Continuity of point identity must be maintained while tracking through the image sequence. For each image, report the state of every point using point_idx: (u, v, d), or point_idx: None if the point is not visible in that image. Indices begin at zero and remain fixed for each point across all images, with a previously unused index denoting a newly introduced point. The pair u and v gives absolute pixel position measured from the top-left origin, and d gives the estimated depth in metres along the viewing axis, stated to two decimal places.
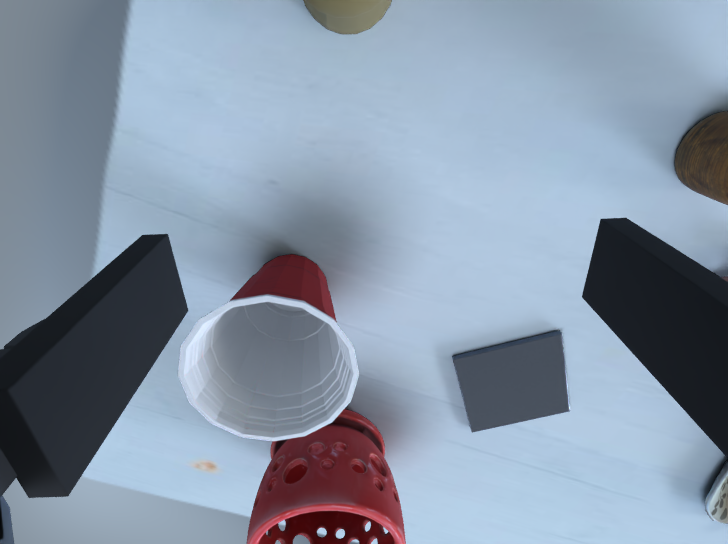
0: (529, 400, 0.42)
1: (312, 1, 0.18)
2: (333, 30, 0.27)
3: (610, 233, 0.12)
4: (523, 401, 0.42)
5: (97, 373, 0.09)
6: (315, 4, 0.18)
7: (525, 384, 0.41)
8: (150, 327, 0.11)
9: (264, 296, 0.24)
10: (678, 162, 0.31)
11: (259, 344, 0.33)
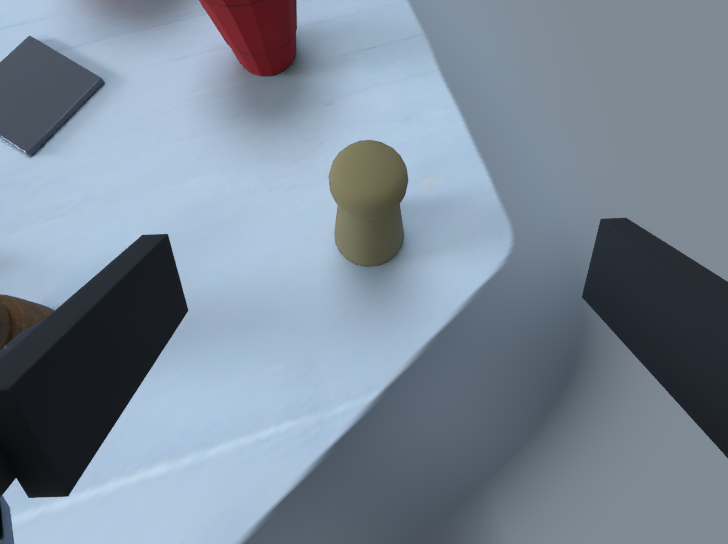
0: (2, 89, 0.41)
1: None
2: None
3: (610, 232, 0.12)
4: (7, 85, 0.41)
5: (97, 373, 0.09)
6: None
7: (19, 99, 0.41)
8: (150, 327, 0.11)
9: None
10: None
11: None
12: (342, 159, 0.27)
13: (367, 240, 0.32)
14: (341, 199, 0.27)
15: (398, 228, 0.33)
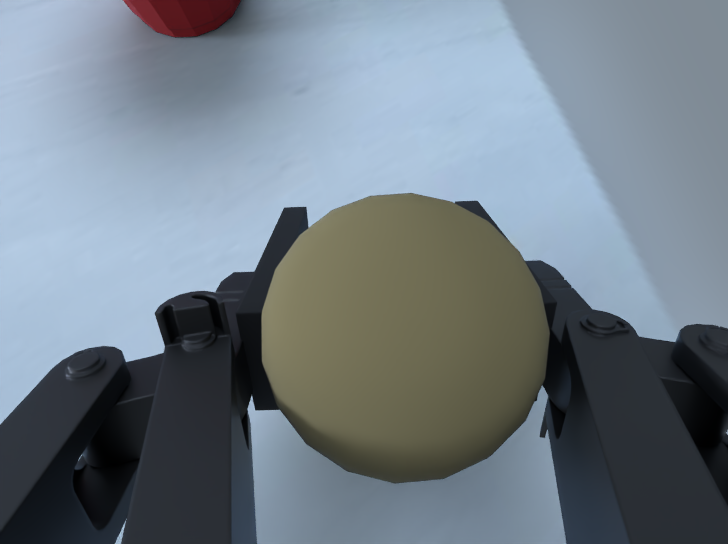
0: None
1: (385, 195, 0.08)
2: None
3: None
4: None
5: None
6: (376, 196, 0.08)
7: None
8: None
9: None
10: None
11: None
12: (306, 273, 0.07)
13: None
14: (302, 433, 0.07)
15: None
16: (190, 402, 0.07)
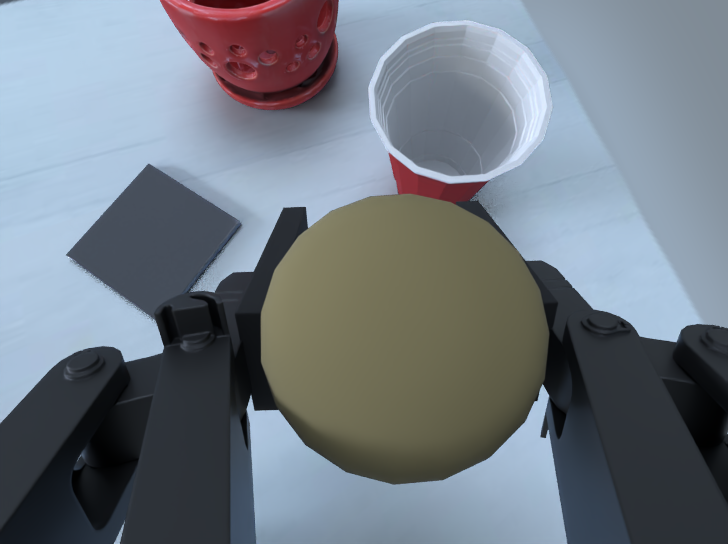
0: (122, 235, 0.35)
1: (384, 196, 0.08)
2: None
3: None
4: (127, 230, 0.35)
5: None
6: (376, 196, 0.08)
7: (144, 248, 0.34)
8: None
9: (521, 163, 0.24)
10: None
11: (438, 117, 0.33)
12: (306, 274, 0.07)
13: None
14: (301, 434, 0.07)
15: None
16: (189, 402, 0.07)
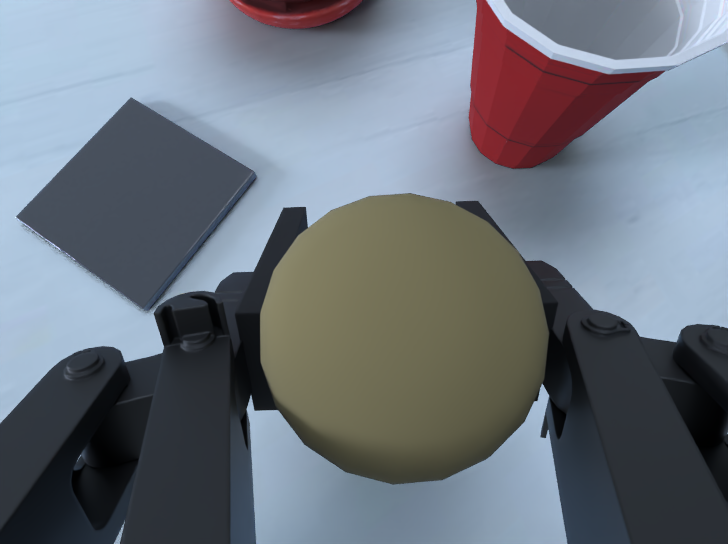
0: (93, 191, 0.25)
1: (384, 195, 0.08)
2: None
3: None
4: (101, 184, 0.25)
5: None
6: None
7: (123, 208, 0.25)
8: None
9: None
10: None
11: (535, 20, 0.23)
12: (305, 273, 0.07)
13: None
14: (300, 434, 0.07)
15: None
16: (189, 402, 0.07)
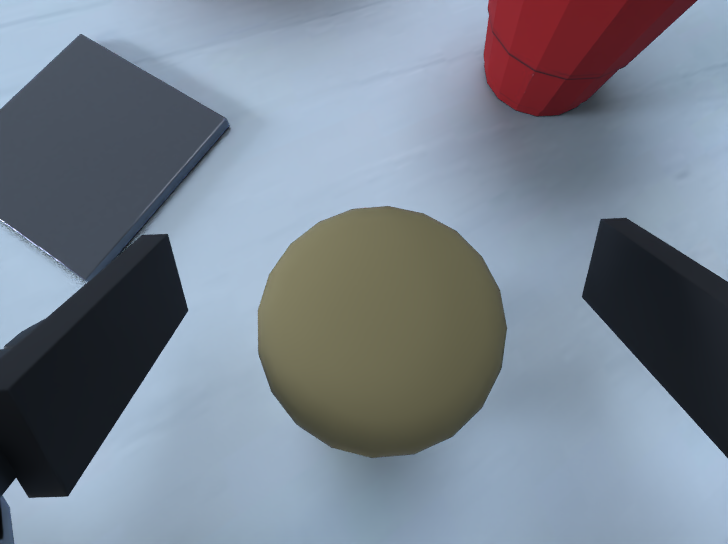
0: (30, 141, 0.21)
1: (365, 208, 0.09)
2: None
3: (610, 233, 0.12)
4: (40, 133, 0.21)
5: (97, 373, 0.09)
6: (358, 209, 0.09)
7: (66, 160, 0.20)
8: (150, 327, 0.11)
9: None
10: None
11: None
12: (294, 278, 0.08)
13: None
14: (291, 414, 0.08)
15: None
16: None
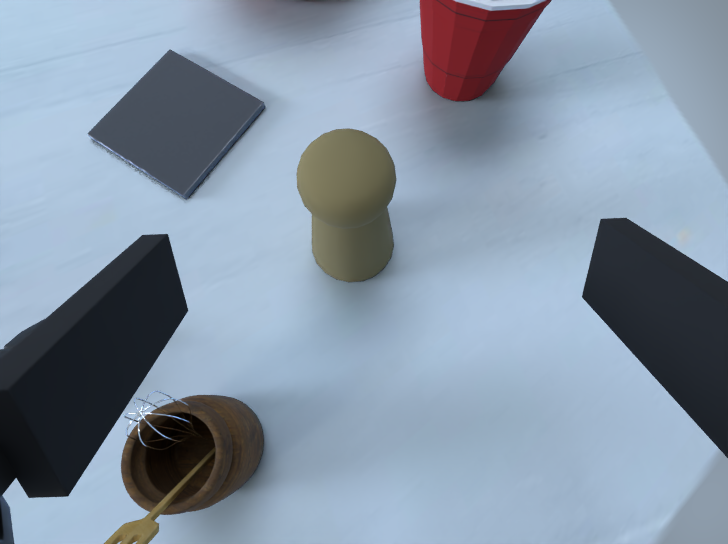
0: (144, 115, 0.34)
1: None
2: None
3: (610, 232, 0.12)
4: (149, 111, 0.34)
5: (97, 373, 0.09)
6: None
7: (167, 127, 0.34)
8: (150, 327, 0.11)
9: None
10: (246, 406, 0.27)
11: None
12: (312, 152, 0.21)
13: (347, 253, 0.26)
14: (311, 203, 0.21)
15: (386, 238, 0.27)
16: None
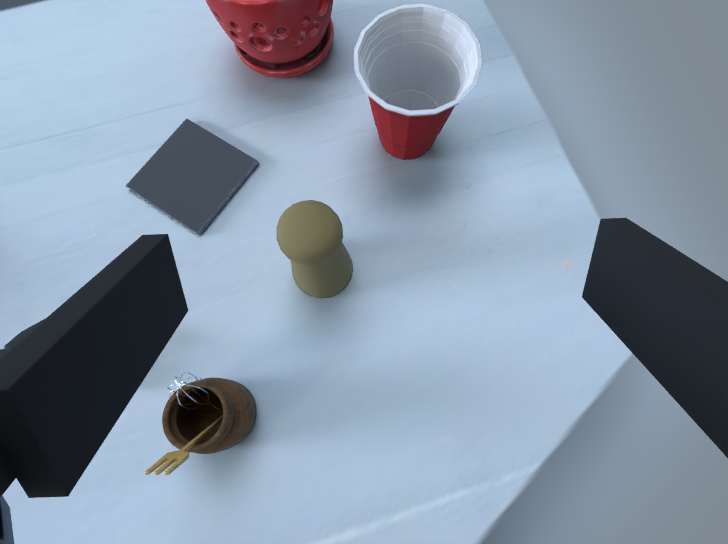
0: (168, 171, 0.45)
1: None
2: None
3: (610, 232, 0.12)
4: (172, 167, 0.45)
5: (97, 373, 0.09)
6: None
7: (185, 180, 0.45)
8: (150, 327, 0.11)
9: (459, 101, 0.35)
10: None
11: (408, 79, 0.43)
12: (286, 217, 0.32)
13: (314, 279, 0.37)
14: (285, 251, 0.32)
15: (343, 267, 0.39)
16: None
